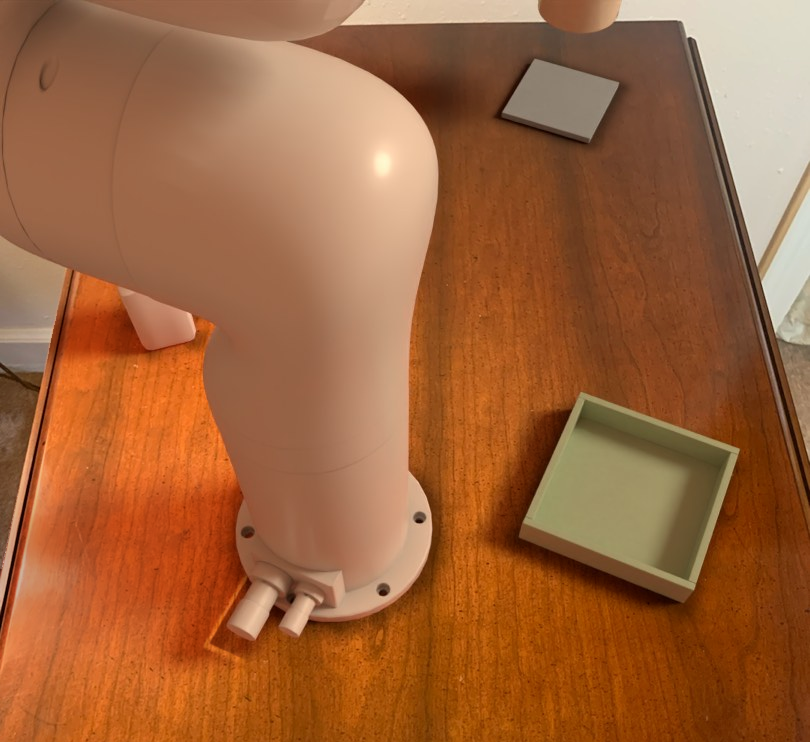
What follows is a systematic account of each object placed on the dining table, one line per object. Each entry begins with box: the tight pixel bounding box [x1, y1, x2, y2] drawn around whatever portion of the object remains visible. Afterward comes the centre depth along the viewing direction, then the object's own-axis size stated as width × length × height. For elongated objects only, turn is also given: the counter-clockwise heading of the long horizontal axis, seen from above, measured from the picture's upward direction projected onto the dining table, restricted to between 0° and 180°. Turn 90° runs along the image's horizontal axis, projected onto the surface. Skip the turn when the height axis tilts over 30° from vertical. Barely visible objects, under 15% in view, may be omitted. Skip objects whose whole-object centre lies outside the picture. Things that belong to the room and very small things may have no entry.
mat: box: [501, 58, 620, 144], centre depth 71 cm, size 8×8×1 cm
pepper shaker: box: [116, 285, 197, 351], centre depth 56 cm, size 4×4×10 cm
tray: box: [518, 391, 741, 604], centre depth 53 cm, size 11×11×2 cm
